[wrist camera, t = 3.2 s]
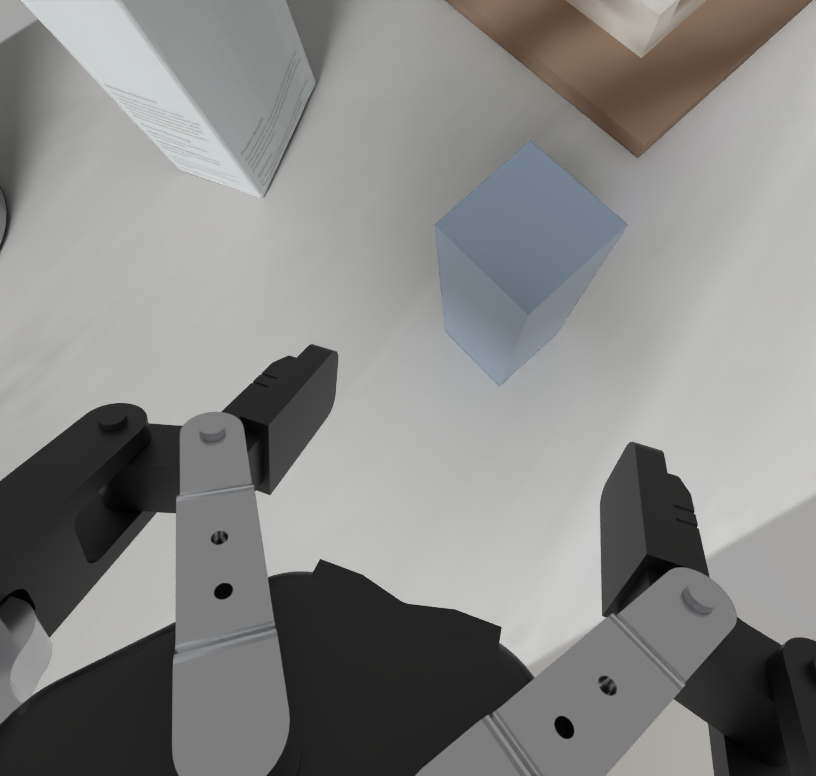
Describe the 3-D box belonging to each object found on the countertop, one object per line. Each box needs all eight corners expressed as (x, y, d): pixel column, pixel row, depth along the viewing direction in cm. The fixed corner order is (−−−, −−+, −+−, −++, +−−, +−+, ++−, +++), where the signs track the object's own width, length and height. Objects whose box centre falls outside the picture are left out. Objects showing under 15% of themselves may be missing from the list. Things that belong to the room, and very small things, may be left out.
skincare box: (236, 61, 30) (32, -323, 16) (324, 86, 29) (192, -299, 15) (176, 179, 29) (-102, -119, 15) (266, 209, 28) (62, -79, 14)
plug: (445, 331, 26) (434, 224, 15) (501, 281, 26) (529, 140, 15) (499, 386, 25) (528, 315, 14) (556, 333, 25) (627, 224, 14)
